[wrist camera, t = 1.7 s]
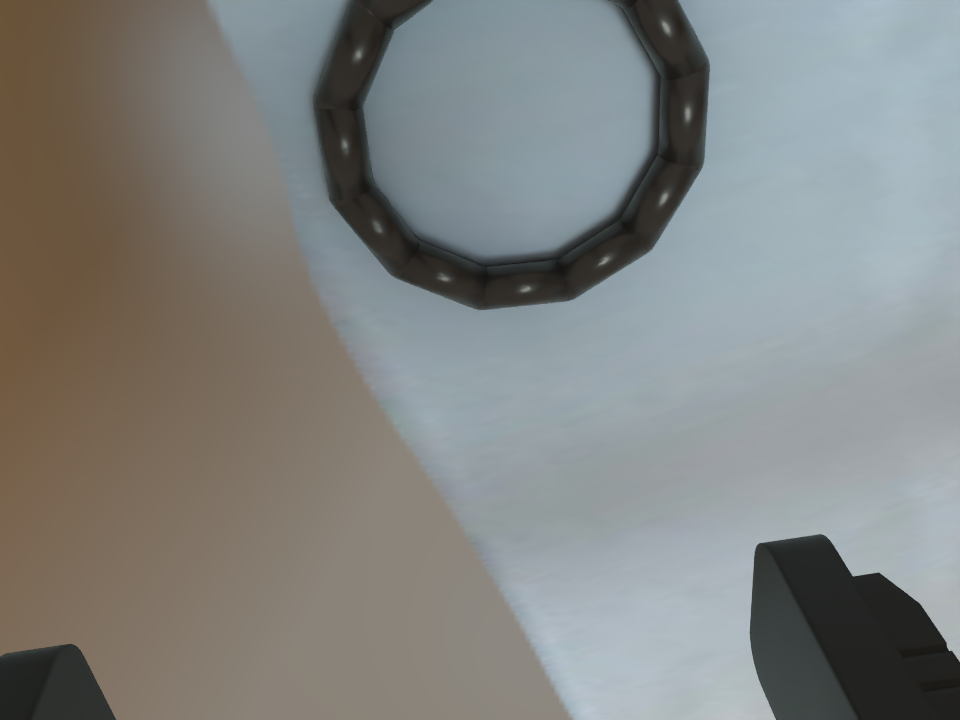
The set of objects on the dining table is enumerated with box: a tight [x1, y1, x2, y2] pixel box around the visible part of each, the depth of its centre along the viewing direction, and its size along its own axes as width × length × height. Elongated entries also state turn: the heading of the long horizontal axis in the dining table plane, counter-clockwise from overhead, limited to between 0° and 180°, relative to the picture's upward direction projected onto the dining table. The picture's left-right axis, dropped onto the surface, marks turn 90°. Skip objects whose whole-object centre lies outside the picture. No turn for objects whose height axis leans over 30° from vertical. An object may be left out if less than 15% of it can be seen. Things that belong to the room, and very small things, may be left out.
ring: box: [313, 0, 710, 310], centre depth 23 cm, size 10×10×1 cm
